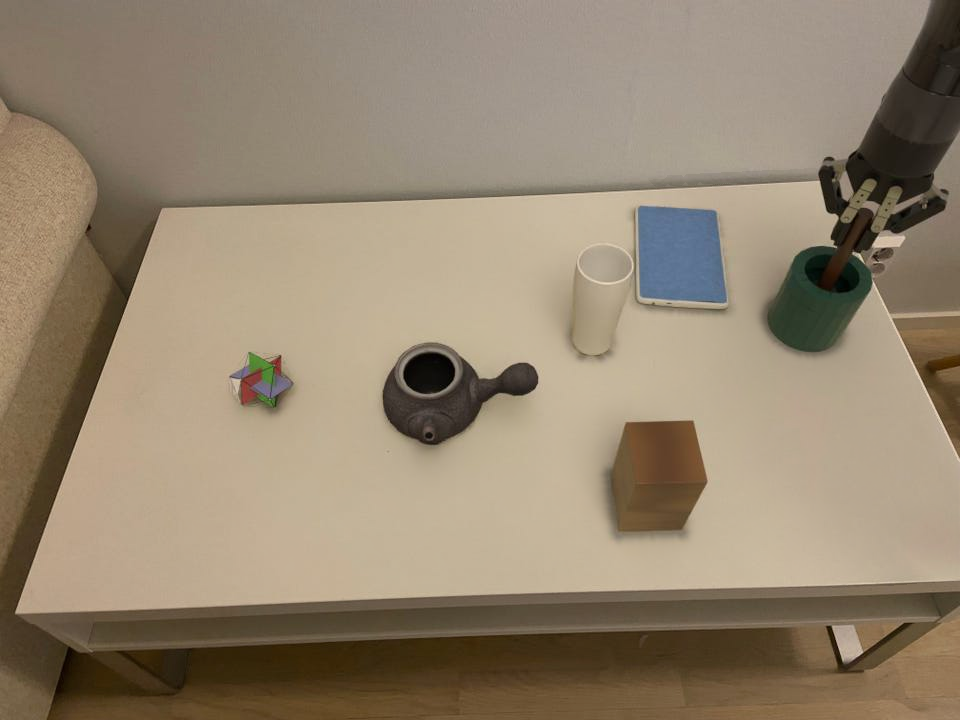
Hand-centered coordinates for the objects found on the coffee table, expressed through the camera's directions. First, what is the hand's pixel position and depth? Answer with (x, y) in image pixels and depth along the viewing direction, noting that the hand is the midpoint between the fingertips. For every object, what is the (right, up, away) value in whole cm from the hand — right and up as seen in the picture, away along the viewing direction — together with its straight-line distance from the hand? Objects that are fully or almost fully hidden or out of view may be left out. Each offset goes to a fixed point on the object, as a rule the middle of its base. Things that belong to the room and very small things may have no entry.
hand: (848, 244), depth 82 cm
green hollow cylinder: (0, -9, +12) cm, 15 cm away
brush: (0, -8, +11) cm, 13 cm away
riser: (-24, -30, -2) cm, 39 cm away
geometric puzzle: (-70, -18, +8) cm, 73 cm away
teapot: (-46, -20, +5) cm, 50 cm away
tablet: (-14, +1, +20) cm, 25 cm away
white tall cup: (-28, -11, +11) cm, 33 cm away
